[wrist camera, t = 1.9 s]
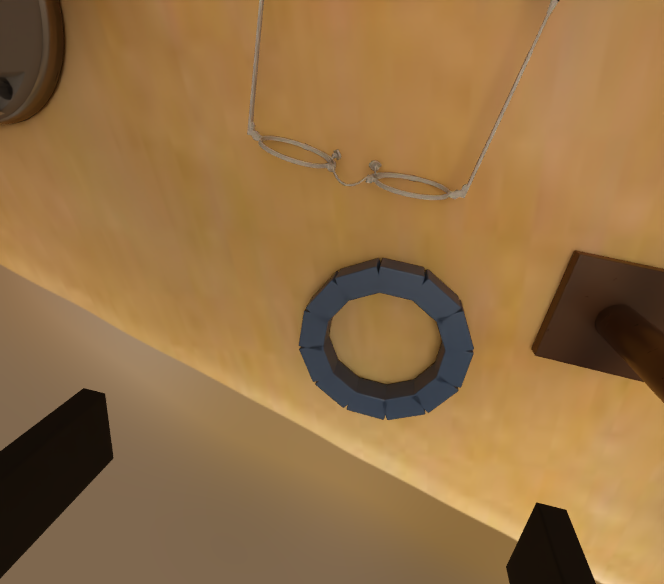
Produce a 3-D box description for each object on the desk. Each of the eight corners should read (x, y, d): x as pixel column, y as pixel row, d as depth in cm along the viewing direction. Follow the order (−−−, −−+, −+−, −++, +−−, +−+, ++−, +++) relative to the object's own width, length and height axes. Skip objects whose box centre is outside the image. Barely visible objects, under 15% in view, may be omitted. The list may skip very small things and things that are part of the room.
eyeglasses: (250, 148, 28) (218, 150, 24) (307, -210, 21) (277, -307, 16) (464, 211, 27) (473, 226, 22) (608, -147, 19) (666, -234, 15)
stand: (531, 349, 30) (597, 472, 19) (574, 250, 27) (685, 329, 16) (641, 375, 29) (779, 522, 18) (700, 276, 26) (913, 381, 15)
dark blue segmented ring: (297, 380, 35) (290, 394, 33) (320, 243, 30) (313, 250, 28) (441, 418, 34) (442, 436, 32) (491, 281, 28) (496, 292, 26)
